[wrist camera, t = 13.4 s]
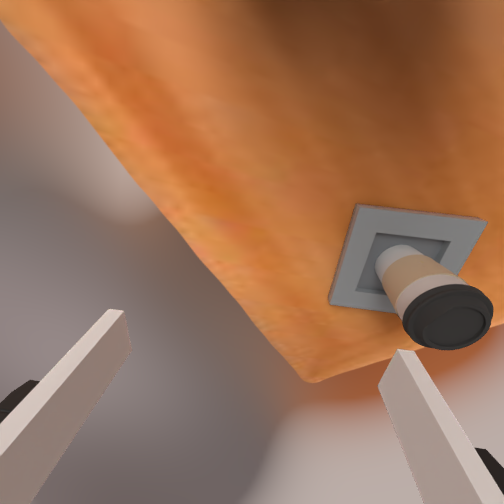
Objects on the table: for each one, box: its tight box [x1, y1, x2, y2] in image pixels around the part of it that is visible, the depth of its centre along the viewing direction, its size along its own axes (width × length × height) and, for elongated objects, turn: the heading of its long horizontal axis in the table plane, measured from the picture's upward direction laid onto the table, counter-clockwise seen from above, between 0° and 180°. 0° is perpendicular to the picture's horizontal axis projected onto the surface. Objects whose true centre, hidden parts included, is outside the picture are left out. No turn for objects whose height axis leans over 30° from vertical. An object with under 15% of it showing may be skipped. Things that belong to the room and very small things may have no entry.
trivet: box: [328, 203, 488, 313], centre depth 39 cm, size 18×18×2 cm
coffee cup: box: [375, 245, 493, 350], centre depth 33 cm, size 9×9×15 cm
